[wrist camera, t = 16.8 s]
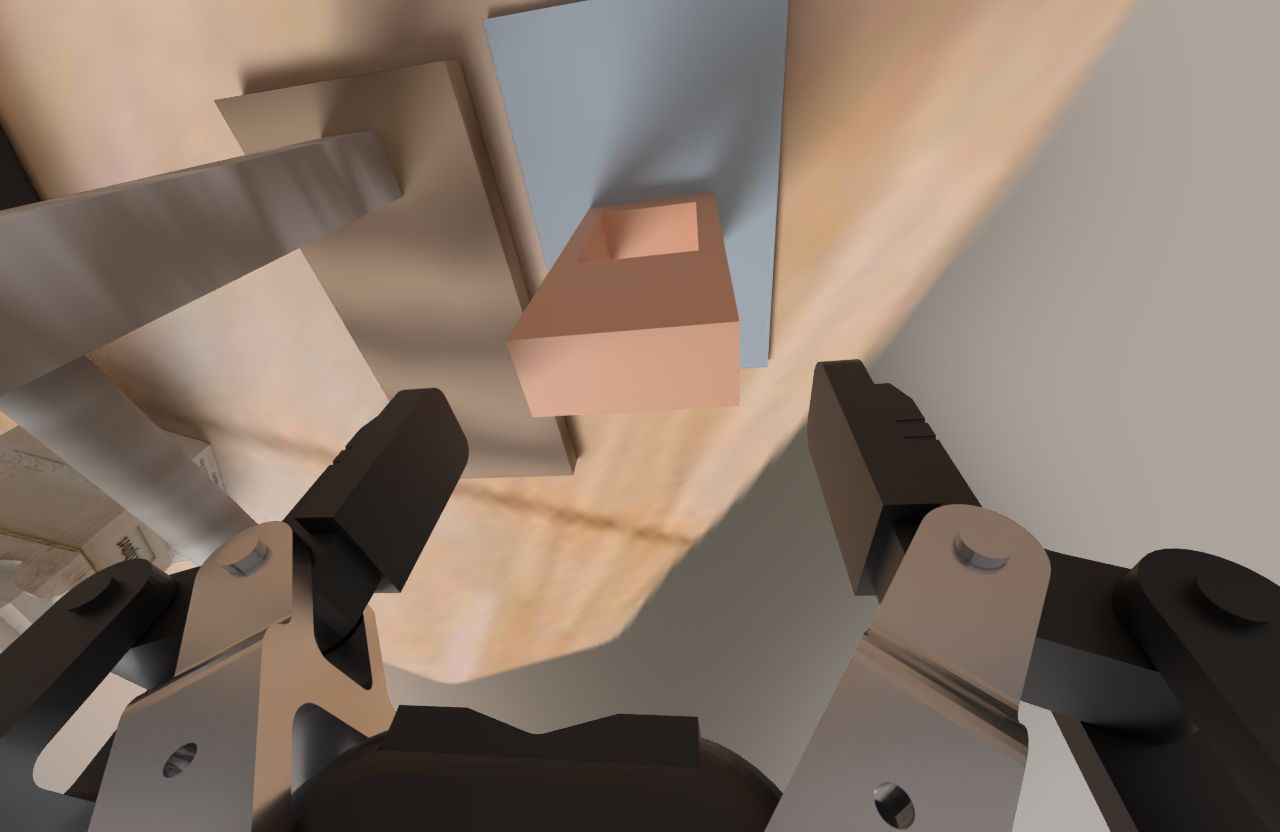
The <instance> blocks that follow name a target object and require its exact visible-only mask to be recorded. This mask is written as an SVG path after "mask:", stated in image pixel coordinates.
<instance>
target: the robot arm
mask: <svg viewBox="0 0 1280 832" xmlns="http://www.w3.org/2000/svg"><path fill="white" fill-rule="evenodd" d="M807 435H808V444H809V449H810V453H811V457H812V460H813V463H814V466H815V469H816V473H817V476H818V479H819V482H820V485H821V489H822V492H823V495H824V498H825V502H826V505H827V508H828V511H829V514H830V518H831V521H832V524H833V527H834V530H835V534H836V537H837V540H838V543H839V547H840V550H841V553H842V556H843V560H844V563H845V566H846V569H847V572H848V576H849V579H850V582H851V585H852V588H853V592H854V595H876V596H877V598H878V601H879V604H880V607H879V609H878V611H877V613H876V615H875V617H874V619H873V621H872V623H871V625H870V627H869V628H868V630H867V631H865V633H864V635H863V636H862V638H861V640H860V642H859V644H858V645H857V648H856V649H855V651H854V653H853V655H852V657H851V659H850V661H849V663H848V665H847V667H846V669H845V671H844V673H843V675H842V677H841V679H840V681H839V683H838V685H837V687H836V689H835V691H834V693H833V695H832V697H831V699H830V702H829V703H828V705H827V707H826V709H825V711H824V713H823V715H822V717H821V719H820V721H819V723H818V725H817V727H816V729H815V731H814V733H813V736H812V737H811V739H810V741H809V743H808V745H807V747H806V749H805V751H804V753H803V755H802V757H801V759H800V761H799V763H798V765H797V768H796V769H795V771H794V773H793V775H792V777H791V779H790V781H789V783H788V786H787V787H786V789H785V791H784V793H782V792H781V791H780V790H779V789H778V788H777V786H776V785H775V784H774V783H773V782H772V781H770V780H769V779H768V778H767V777H766V776H765V775H764V774H763V773H762V772H761V771H760V770H759V769H757V768H756V767H755V766H753V765H752V764H750V763H749V762H748V761H747V760H745V759H744V758H742V757H741V756H740V755H738V754H737V753H735V752H733V751H731V750H729V749H727V748H725V747H723V746H722V745H720V744H718V743H715V742H713V741H710V740H707V739H704V738H702V737H701V735H700V729H699V723H698V717H687V716H662V715H635V714H616V715H612V716H609V717H605V718H601V719H598V720H593V721H590V722H586V723H582V724H578V725H575V726H571V727H568V728H564V729H559V730H556V731H552V732H548V733H544V734H531V733H528V732H525V731H523V730H520V729H518V728H515V727H513V726H510V725H508V724H506V723H503V722H501V721H499V720H496V719H494V718H491V717H488V716H486V715H484V714H481V713H479V712H476V711H474V710H472V709H469V708H461V707H460V708H458V707H435V706H434V707H433V706H410V705H409V706H408V705H399V707H398V709H397V711H395V710H394V708H393V706H392V705H391V702H390V700H389V697H388V693H387V688H386V681H385V676H384V669H383V663H382V657H381V650H380V644H379V638H378V632H377V626H376V619H375V614H374V611H373V609H372V608H371V607H370V606H369V605H368V602H369V601H370V599H371V597H372V595H373V594H374V593H401V591H402V589H403V587H404V585H405V583H406V581H407V579H408V577H409V575H410V573H411V571H412V569H413V567H414V566H415V564H416V562H417V560H418V558H419V556H420V554H421V552H422V550H423V548H424V546H425V544H426V542H427V540H428V539H429V537H430V535H431V533H432V531H433V529H434V527H435V525H436V523H437V521H438V519H439V517H440V515H441V513H442V512H443V510H444V508H445V506H446V504H447V502H448V500H449V498H450V496H451V494H452V492H453V490H454V488H455V486H456V485H457V483H458V481H459V479H460V477H461V475H462V473H463V471H464V469H465V467H466V465H467V462H468V458H469V446H468V441H467V439H466V436H465V434H464V432H463V430H462V428H461V426H460V424H459V422H458V421H457V419H456V417H455V415H454V413H453V411H452V409H451V407H450V405H449V403H448V401H447V399H446V397H445V395H444V393H443V392H442V391H441V390H440V389H438V388H421V389H406V390H401V391H399V392H398V393H397V394H396V395H395V396H394V397H393V399H392V400H391V401H390V402H389V403H388V405H387V406H386V407H385V408H384V409H383V411H382V412H381V413H380V414H379V415H378V416H377V417H376V418H374V419H373V420H372V421H370V422H369V423H368V424H366V425H365V426H364V427H362V428H361V429H360V430H359V431H358V432H357V433H356V434H355V436H354V437H353V438H352V439H351V440H350V442H349V443H348V444H347V445H346V446H345V448H346V449H345V450H342V451H341V452H340V453H339V455H338V456H337V457H336V458H335V459H334V460H333V465H329V466H328V468H327V469H326V470H325V471H324V472H323V473H322V475H321V476H320V477H319V478H318V479H317V481H316V482H315V483H314V484H313V485H312V487H311V488H310V489H309V490H308V491H307V492H306V494H305V495H304V496H303V497H302V498H301V500H300V501H299V502H298V503H297V504H296V505H295V507H294V508H293V509H292V510H291V511H290V513H289V514H288V515H287V516H286V517H285V518H284V520H283V521H282V522H279V521H272V522H266V523H262V524H258V525H255V526H253V527H250V528H248V529H246V530H244V531H242V532H240V533H238V534H237V535H235V536H233V537H232V538H230V539H229V540H227V541H226V542H225V543H223V544H222V545H221V546H220V547H218V548H217V549H216V550H215V551H214V552H213V553H212V554H211V555H210V556H209V557H208V558H207V559H206V560H205V562H204V563H203V564H202V566H199V567H195V568H192V569H188V570H185V571H181V572H178V573H175V574H171V575H168V574H166V573H165V572H163V571H162V570H161V569H159V568H158V567H156V566H155V565H153V564H152V563H151V562H149V561H148V560H146V559H141V558H136V559H129V560H125V561H122V562H119V563H116V564H113V565H111V566H109V567H107V568H104V569H102V570H101V571H99V572H97V573H95V574H93V575H92V576H90V577H88V578H87V579H85V580H83V581H82V582H80V583H79V584H78V585H76V586H75V587H73V588H72V589H71V590H70V591H68V592H67V593H66V594H65V595H64V596H62V597H61V598H60V599H59V600H58V601H57V602H56V603H55V604H54V605H52V606H51V607H50V608H49V609H48V610H47V611H46V612H45V613H44V614H43V615H42V616H41V617H40V618H38V619H37V620H36V621H35V622H34V623H33V624H32V625H31V626H30V627H29V628H28V629H27V630H26V631H24V632H23V633H22V634H21V635H20V636H19V637H18V638H17V639H16V640H15V641H14V642H13V643H11V644H10V645H9V646H8V647H7V648H6V649H5V650H4V651H3V652H2V653H1V654H0V832H1012V827H1013V822H1014V818H1015V813H1016V809H1017V803H1018V800H1019V795H1020V790H1021V785H1022V781H1023V776H1024V772H1025V767H1026V762H1027V755H1028V742H1029V740H1028V732H1027V729H1026V728H1025V726H1024V725H1022V724H1021V723H1019V721H1018V709H1019V703H1020V700H1021V701H1024V702H1027V703H1030V704H1033V705H1036V706H1039V707H1042V708H1045V709H1048V710H1051V712H1052V713H1053V716H1054V717H1055V720H1056V722H1057V723H1058V726H1059V727H1060V730H1061V732H1062V734H1063V736H1064V738H1065V740H1066V742H1067V744H1068V746H1069V748H1070V750H1071V752H1072V754H1073V756H1074V758H1075V760H1076V762H1077V764H1078V766H1079V768H1080V770H1081V772H1082V774H1083V776H1084V778H1085V780H1086V782H1087V784H1088V786H1089V789H1090V791H1091V792H1092V794H1093V796H1094V799H1095V801H1096V803H1097V805H1098V806H1099V809H1100V811H1101V813H1102V815H1103V817H1104V819H1105V821H1106V823H1107V825H1108V827H1109V829H1110V831H1111V832H1280V586H1278V585H1277V584H1275V583H1273V582H1272V581H1270V580H1269V579H1267V578H1265V577H1263V576H1261V575H1260V574H1258V573H1256V572H1254V571H1252V570H1250V569H1248V568H1246V567H1244V566H1241V565H1239V564H1237V563H1235V562H1232V561H1229V560H1226V559H1224V558H1221V557H1218V556H1214V555H1211V554H1207V553H1203V552H1198V551H1193V550H1187V549H1162V550H1157V551H1154V552H1151V553H1149V554H1147V555H1146V556H1145V557H1143V558H1142V559H1141V560H1140V561H1139V562H1138V563H1137V564H1136V565H1135V566H1134V567H1133V568H1132V569H1128V568H1123V567H1119V566H1114V565H1110V564H1105V563H1101V562H1097V561H1092V560H1088V559H1083V558H1079V557H1074V556H1070V555H1065V554H1061V553H1057V552H1054V551H1050V550H1047V549H1044V548H1043V547H1042V545H1041V544H1040V543H1039V542H1038V540H1036V538H1035V537H1034V536H1033V535H1032V534H1031V533H1030V532H1028V531H1027V530H1026V529H1025V528H1024V527H1022V526H1021V525H1019V524H1018V523H1016V522H1015V521H1013V520H1011V519H1009V518H1008V517H1006V516H1004V515H1002V514H999V513H997V512H995V511H992V510H989V509H986V508H983V507H982V506H981V505H980V503H979V501H978V500H977V498H976V497H975V496H974V494H973V492H972V491H971V489H970V488H969V487H968V484H967V483H966V481H965V480H964V478H963V477H962V475H961V474H960V472H959V471H958V469H957V467H956V466H955V464H954V463H953V461H952V460H951V458H950V457H949V455H948V454H947V452H946V451H945V449H944V448H943V446H942V444H941V443H940V441H939V440H936V438H935V437H936V435H935V433H934V432H933V431H932V429H931V427H930V426H929V424H928V423H925V418H924V416H923V415H922V414H921V412H920V410H919V409H918V407H917V406H916V404H915V403H914V401H913V400H912V399H911V398H910V397H909V396H907V395H906V394H904V393H903V392H901V391H900V390H899V389H897V388H896V387H894V386H893V385H892V384H890V383H884V384H874V383H873V381H872V379H871V377H870V376H869V374H868V372H867V370H866V368H865V367H864V365H863V363H862V362H861V361H860V360H859V359H854V360H840V361H825V362H818V363H817V364H816V367H815V370H814V377H813V385H812V392H811V400H810V408H809V415H808V424H807ZM110 672H112V673H114V674H116V675H119V676H120V677H123V678H124V679H126V680H128V681H131V682H133V683H135V684H137V685H139V686H141V687H143V688H145V689H147V691H146V692H145V693H143V694H141V695H140V696H137V697H136V698H135V699H134V700H132V701H131V702H130V703H129V704H128V706H127V707H126V708H125V710H124V712H123V714H122V715H121V718H120V721H119V724H118V727H117V730H116V731H115V732H114V733H113V734H112V736H111V737H110V738H109V740H108V741H107V742H106V744H105V745H104V746H103V747H102V748H101V750H100V751H99V752H98V754H97V755H96V756H95V757H94V759H93V760H92V761H91V763H90V764H89V765H88V766H87V768H86V769H85V770H84V772H83V773H82V774H81V775H80V776H79V778H78V779H77V780H76V782H75V783H74V784H73V785H72V786H71V788H70V789H68V790H67V792H65V793H64V794H60V793H56V792H52V791H48V790H44V789H42V788H39V787H38V786H37V785H36V784H35V782H34V781H33V768H34V764H35V762H36V760H37V758H38V756H39V755H40V753H41V752H42V750H43V749H44V748H45V746H46V745H47V744H48V743H49V742H50V740H52V738H53V737H54V736H55V735H56V734H57V732H58V731H59V730H60V729H61V728H62V727H63V726H64V725H65V723H66V722H67V721H68V720H69V719H70V718H71V716H72V715H73V714H74V713H75V712H76V711H77V710H78V708H79V707H80V706H81V705H82V704H83V703H84V702H85V700H86V699H87V698H88V697H89V696H90V695H91V693H92V692H93V691H94V690H95V689H96V688H97V687H98V685H99V684H100V683H101V682H102V681H103V680H104V679H105V677H106V676H107V675H108V674H109V673H110Z"/></svg>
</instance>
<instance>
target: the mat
mask: <svg viewBox="0 0 1280 832" xmlns="http://www.w3.org/2000/svg"><path fill="white" fill-rule="evenodd" d="M788 4H789V0H587V1H581V2H576V3H570V4H565V5H560V6H554V7H549V8H543V9H538V10H532V11H527V12H521V13H516V14H511V15H505V16H500V17H494V18H489V19H483V23H484V27H485V31H486V35H487V39H488V43H489V46H490V50H491V54H492V58H493V62H494V66H495V70H496V74H497V77H498V81H499V85H500V89H501V93H502V97H503V101H504V105H505V109H506V112H507V116H508V120H509V124H510V128H511V132H512V136H513V140H514V143H515V147H516V151H517V155H518V159H519V163H520V167H521V171H522V174H523V178H524V182H525V186H526V190H527V194H528V198H529V202H530V206H531V209H532V213H533V217H534V221H535V225H536V229H537V233H538V237H539V240H540V244H541V248H542V252H543V256H544V260H545V264H546V268H547V272H548V273H549V271H550V270H551V268H552V266H553V265H554V263H555V262H556V260H557V258H558V257H559V255H560V254H561V252H562V251H563V249H564V247H565V246H566V244H567V243H568V241H569V240H570V238H571V236H572V235H573V233H574V232H575V230H576V229H577V227H578V225H579V224H580V222H581V221H582V219H583V217H584V216H585V214H586V213H587V211H588V210H589V208H596V207H604V206H612V205H620V204H628V203H636V202H644V201H652V200H660V199H668V198H676V197H684V196H692V195H700V194H708V193H714V196H715V201H716V206H717V211H718V216H719V221H720V226H721V231H722V236H723V241H724V246H725V251H726V256H727V261H728V266H729V271H730V276H731V281H732V286H733V291H734V296H735V301H736V306H737V311H738V316H739V321H740V369H745V368H761V367H768V351H769V334H770V316H771V299H772V282H773V264H774V247H775V230H776V212H777V195H778V178H779V160H780V143H781V126H782V108H783V91H784V74H785V56H786V39H787V22H788Z"/></svg>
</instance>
